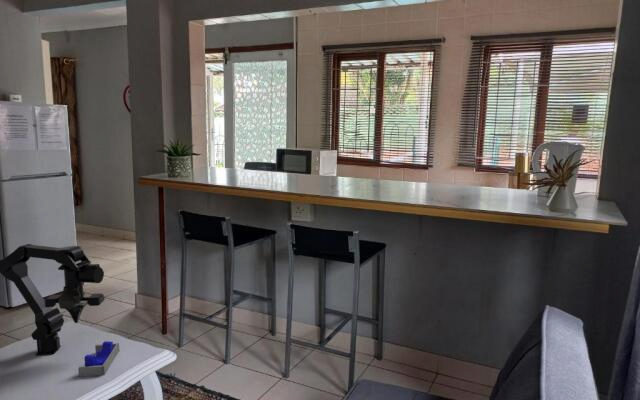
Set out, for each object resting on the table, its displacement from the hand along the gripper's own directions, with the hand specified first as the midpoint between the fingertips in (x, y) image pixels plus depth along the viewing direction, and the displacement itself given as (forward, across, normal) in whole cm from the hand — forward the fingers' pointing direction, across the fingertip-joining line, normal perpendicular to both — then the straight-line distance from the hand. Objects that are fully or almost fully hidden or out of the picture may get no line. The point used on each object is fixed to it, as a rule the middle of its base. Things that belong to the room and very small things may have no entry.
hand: (76, 322), depth 168 cm
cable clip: (+12, +10, -10) cm, 19 cm away
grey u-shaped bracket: (+12, +10, -9) cm, 18 cm away
